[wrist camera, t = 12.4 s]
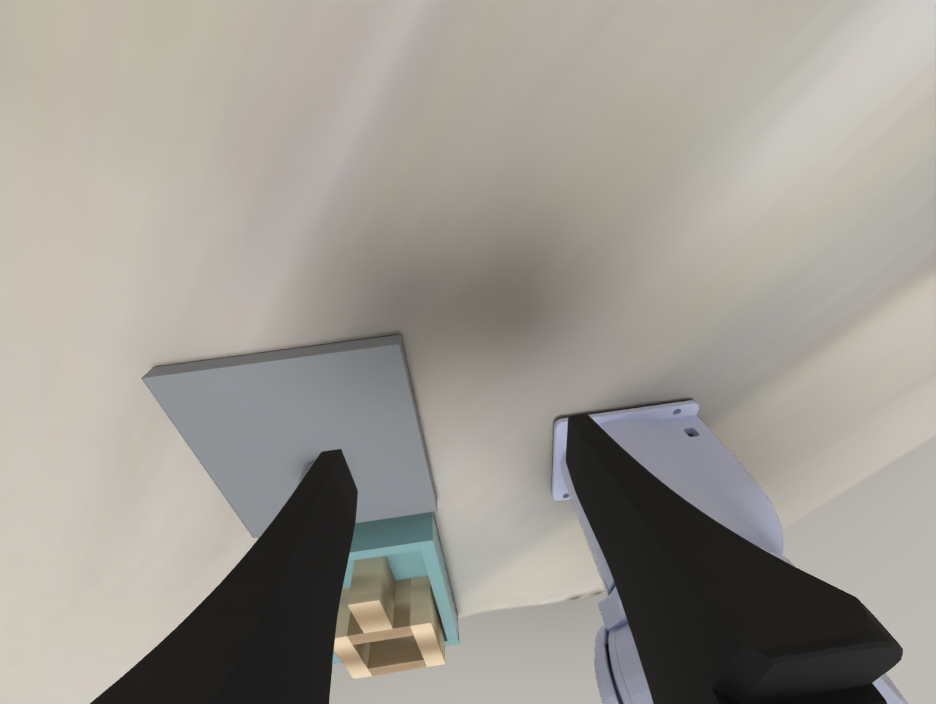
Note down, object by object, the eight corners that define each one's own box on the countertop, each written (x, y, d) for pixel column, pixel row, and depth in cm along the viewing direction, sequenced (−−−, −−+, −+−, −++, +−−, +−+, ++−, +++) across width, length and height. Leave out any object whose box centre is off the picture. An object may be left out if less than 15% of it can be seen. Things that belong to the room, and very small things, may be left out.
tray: (432, 508, 28) (433, 540, 26) (457, 614, 37) (459, 644, 35) (270, 532, 28) (258, 566, 26) (336, 632, 37) (330, 664, 35)
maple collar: (443, 619, 36) (445, 664, 33) (359, 632, 36) (353, 678, 33) (420, 545, 29) (420, 593, 26) (317, 561, 29) (305, 611, 26)
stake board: (437, 499, 28) (439, 574, 23) (258, 525, 27) (225, 607, 23) (400, 334, 20) (393, 398, 16) (153, 367, 20) (72, 442, 15)
